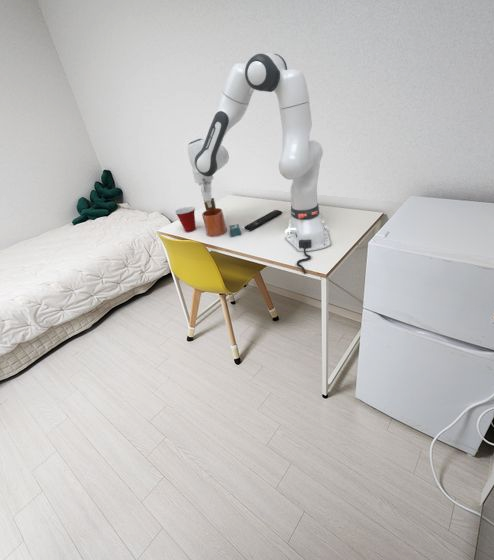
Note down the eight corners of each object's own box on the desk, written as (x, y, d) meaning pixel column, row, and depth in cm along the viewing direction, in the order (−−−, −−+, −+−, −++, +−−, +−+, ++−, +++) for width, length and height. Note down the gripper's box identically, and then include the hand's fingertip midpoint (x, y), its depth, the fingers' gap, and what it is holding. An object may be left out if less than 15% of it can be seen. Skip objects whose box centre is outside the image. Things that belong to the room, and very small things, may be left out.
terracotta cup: (226, 234, 157) (222, 213, 151) (207, 238, 157) (201, 217, 151) (226, 226, 165) (221, 206, 159) (207, 230, 165) (202, 210, 159)
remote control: (244, 229, 158) (244, 226, 157) (275, 211, 170) (275, 209, 169) (251, 231, 154) (251, 228, 154) (282, 213, 167) (282, 211, 166)
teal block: (240, 235, 153) (239, 227, 151) (231, 237, 153) (229, 229, 151) (239, 231, 157) (238, 223, 155) (230, 233, 157) (229, 225, 155)
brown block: (215, 208, 152) (213, 200, 149) (206, 210, 152) (204, 202, 149) (215, 205, 156) (213, 197, 153) (206, 207, 156) (204, 199, 153)
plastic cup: (203, 225, 172) (197, 204, 165) (195, 233, 163) (189, 212, 157) (185, 225, 175) (179, 205, 169) (177, 234, 167) (171, 213, 160)
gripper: (210, 181, 136) (216, 210, 144) (210, 170, 154) (216, 197, 161) (196, 184, 136) (203, 213, 144) (197, 172, 154) (204, 199, 161)
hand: (210, 204), depth 153 cm, fingers closed on brown block, 5 cm apart
